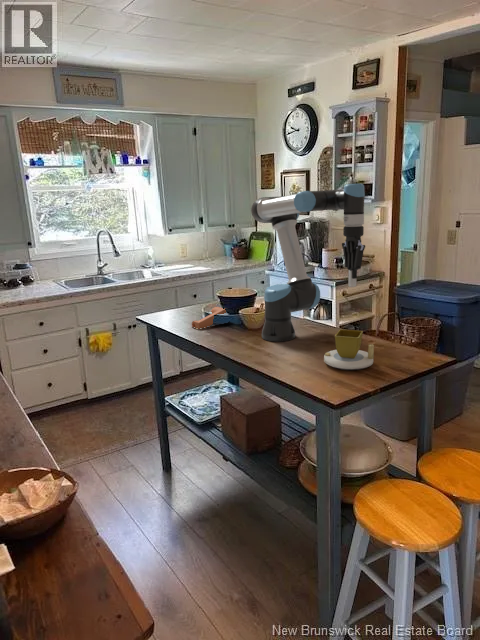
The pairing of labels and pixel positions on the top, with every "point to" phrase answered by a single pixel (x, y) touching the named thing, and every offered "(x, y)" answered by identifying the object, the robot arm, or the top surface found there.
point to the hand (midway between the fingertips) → (352, 286)
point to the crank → (208, 318)
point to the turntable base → (348, 369)
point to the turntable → (350, 359)
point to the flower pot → (348, 342)
